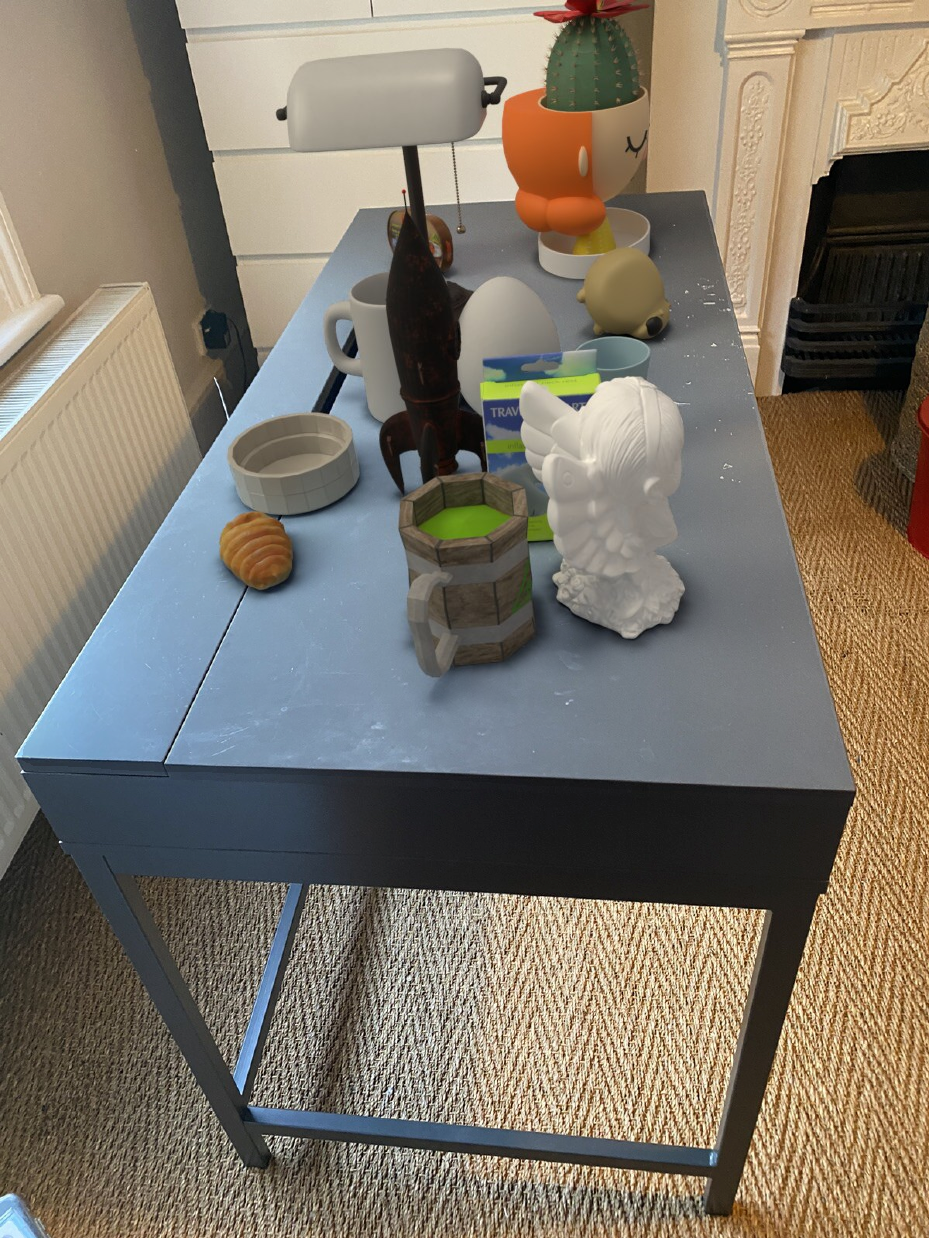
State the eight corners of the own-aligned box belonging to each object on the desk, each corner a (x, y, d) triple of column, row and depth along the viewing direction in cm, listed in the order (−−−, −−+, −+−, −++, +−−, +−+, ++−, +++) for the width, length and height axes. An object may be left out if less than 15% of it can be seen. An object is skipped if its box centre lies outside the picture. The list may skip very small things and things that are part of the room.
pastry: (311, 578, 87) (302, 546, 85) (243, 604, 86) (232, 571, 83) (281, 530, 94) (272, 499, 92) (217, 553, 92) (206, 522, 90)
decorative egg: (570, 382, 112) (567, 257, 103) (551, 433, 103) (545, 302, 94) (473, 379, 115) (461, 257, 106) (446, 428, 107) (430, 301, 97)
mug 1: (472, 384, 114) (460, 268, 105) (443, 430, 106) (428, 308, 97) (355, 378, 119) (334, 266, 110) (320, 421, 111) (293, 304, 102)
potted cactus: (654, 226, 150) (662, -36, 127) (642, 280, 134) (649, -10, 111) (523, 230, 155) (508, -22, 133) (496, 282, 139) (474, 5, 116)
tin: (389, 260, 151) (381, 206, 145) (405, 254, 152) (397, 200, 147) (443, 282, 141) (436, 225, 136) (459, 276, 142) (454, 219, 137)
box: (493, 546, 89) (476, 378, 77) (493, 521, 92) (477, 357, 80) (605, 539, 88) (604, 368, 76) (601, 514, 91) (600, 347, 80)
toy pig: (617, 372, 121) (680, 325, 113) (555, 303, 118) (615, 249, 110) (636, 338, 127) (697, 290, 120) (578, 271, 124) (637, 218, 116)
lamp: (312, 369, 122) (247, 78, 100) (356, 295, 140) (310, 35, 118) (511, 364, 118) (489, 57, 96) (531, 289, 136) (516, 16, 114)
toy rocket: (434, 530, 91) (388, 215, 72) (385, 495, 97) (331, 194, 78) (504, 495, 95) (478, 185, 76) (453, 463, 101) (417, 167, 81)
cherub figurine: (703, 642, 76) (723, 423, 63) (551, 662, 76) (540, 447, 63) (663, 548, 86) (672, 342, 73) (529, 566, 86) (514, 363, 73)
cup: (592, 468, 97) (591, 375, 90) (564, 435, 103) (562, 346, 96) (659, 451, 98) (663, 358, 92) (628, 419, 104) (629, 330, 98)
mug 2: (443, 576, 86) (426, 464, 78) (555, 595, 82) (550, 479, 74) (369, 693, 75) (341, 577, 67) (494, 721, 71) (480, 601, 64)
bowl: (236, 527, 95) (223, 486, 92) (242, 462, 106) (230, 423, 102) (363, 506, 96) (355, 464, 93) (357, 444, 106) (349, 404, 103)
